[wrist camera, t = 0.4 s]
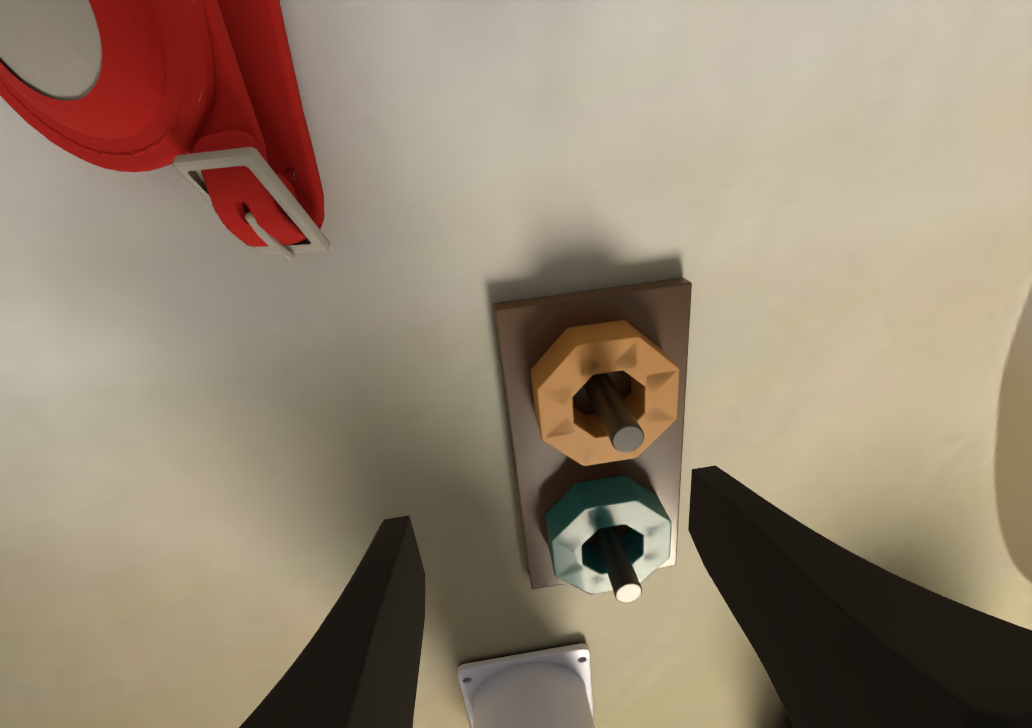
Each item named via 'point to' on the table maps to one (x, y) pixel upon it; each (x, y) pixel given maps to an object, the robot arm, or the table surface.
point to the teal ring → (600, 509)
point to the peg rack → (553, 473)
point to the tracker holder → (174, 102)
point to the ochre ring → (596, 354)
